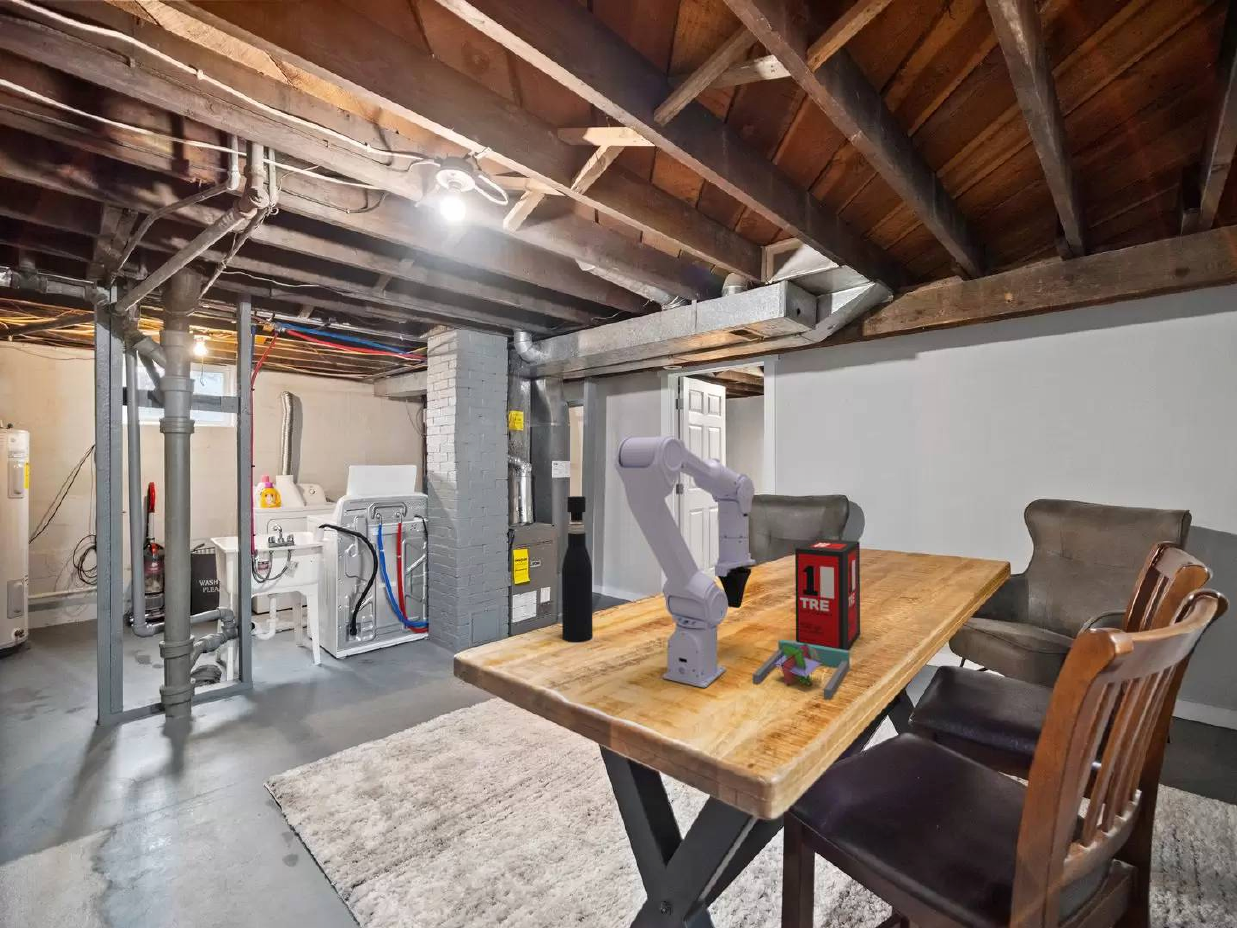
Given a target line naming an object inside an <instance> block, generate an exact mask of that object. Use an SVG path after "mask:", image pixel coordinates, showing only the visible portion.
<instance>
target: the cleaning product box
mask: <svg viewBox="0 0 1237 928" xmlns="http://www.w3.org/2000/svg"><path fill="white" fill-rule="evenodd" d="M860 543H861V542H860V541H856V540H844V539H843V540H842V539H828V538H826V539H825V538H815V539H813V540H810V541H808V542H807V543H804V544H802V545H800V546H798V547H796V548H794V549H795V550H794V551H795V552H794V553H795V554H794V555H795V567H794V568H795V569H794V570H795V572H794V573H795V576H794V577H795V642H800V643H807V644H812V645H818V646H824V647H830V648H836V649H842V650H848V651H850V650H851V648H852V647H853V645H854V644H855V643H856V642H857V640H858V638H859V637H860V636H861V573H860V571H861V568H860V567H861V565H860V559H861V558H860V557H861V556H860V553H861V548H860Z"/></svg>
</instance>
